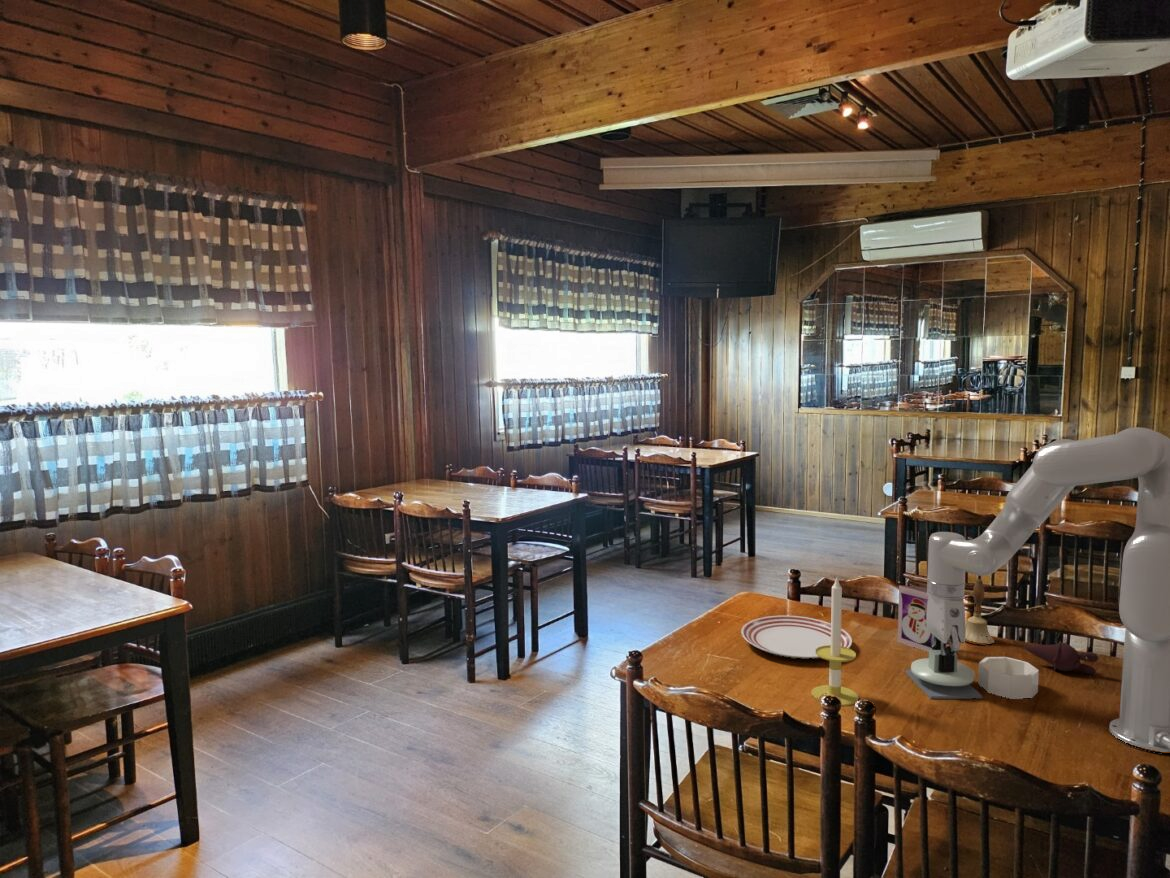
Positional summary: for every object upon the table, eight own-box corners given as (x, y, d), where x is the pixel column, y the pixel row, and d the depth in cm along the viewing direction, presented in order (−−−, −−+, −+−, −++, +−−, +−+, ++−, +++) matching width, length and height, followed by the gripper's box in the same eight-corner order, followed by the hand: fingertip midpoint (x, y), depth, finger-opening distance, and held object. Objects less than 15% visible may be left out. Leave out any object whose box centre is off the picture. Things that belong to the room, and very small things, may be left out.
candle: (827, 709, 165) (830, 584, 162) (802, 689, 175) (803, 572, 172) (868, 702, 168) (871, 580, 165) (841, 683, 178) (843, 567, 175)
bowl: (1045, 698, 168) (1047, 676, 168) (995, 699, 168) (996, 676, 168) (1019, 677, 179) (1019, 656, 178) (971, 678, 179) (972, 657, 179)
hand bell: (963, 631, 208) (965, 573, 206) (997, 638, 203) (1000, 578, 201) (954, 641, 202) (957, 580, 200) (990, 648, 197) (992, 586, 195)
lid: (985, 686, 169) (986, 663, 169) (925, 686, 169) (926, 664, 169) (958, 662, 182) (959, 641, 181) (901, 662, 182) (902, 641, 182)
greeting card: (895, 642, 201) (897, 586, 200) (912, 636, 205) (914, 580, 204) (936, 656, 192) (938, 597, 190) (954, 649, 196) (956, 591, 194)
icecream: (1022, 643, 183) (1098, 662, 175) (1027, 626, 189) (1101, 644, 180) (1019, 667, 186) (1093, 687, 177) (1024, 650, 191) (1096, 669, 183)
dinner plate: (876, 656, 194) (876, 643, 193) (783, 674, 184) (783, 661, 183) (805, 621, 219) (806, 609, 219) (721, 636, 209) (721, 624, 209)
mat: (982, 698, 169) (982, 695, 169) (930, 698, 169) (930, 696, 169) (952, 671, 183) (952, 669, 183) (905, 672, 183) (905, 669, 183)
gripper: (980, 600, 165) (976, 683, 167) (946, 577, 182) (943, 654, 184) (944, 600, 165) (941, 683, 168) (913, 577, 182) (911, 654, 184)
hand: (942, 667), depth 176 cm, fingers closed on lid, 3 cm apart
